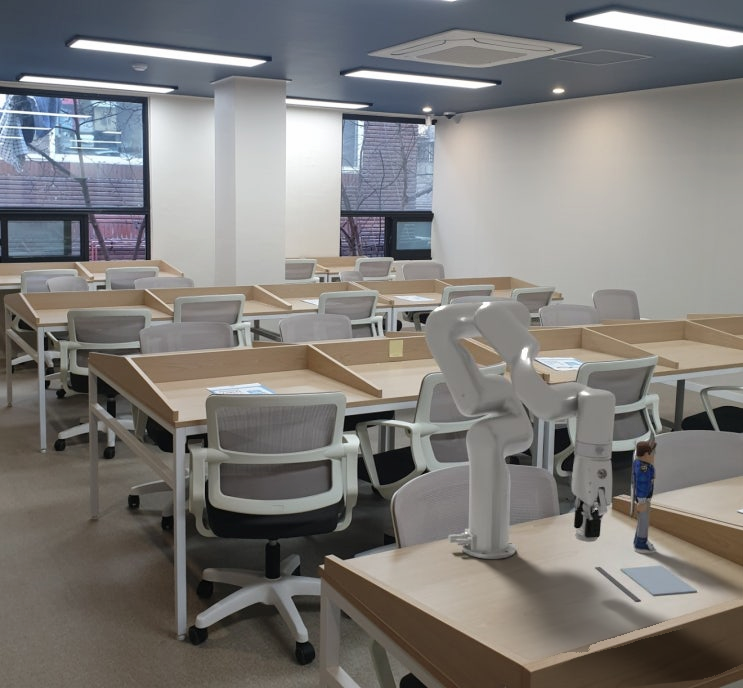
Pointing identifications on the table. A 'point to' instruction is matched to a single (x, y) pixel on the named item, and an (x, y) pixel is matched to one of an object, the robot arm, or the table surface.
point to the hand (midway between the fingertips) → (586, 531)
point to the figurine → (643, 491)
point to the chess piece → (581, 531)
